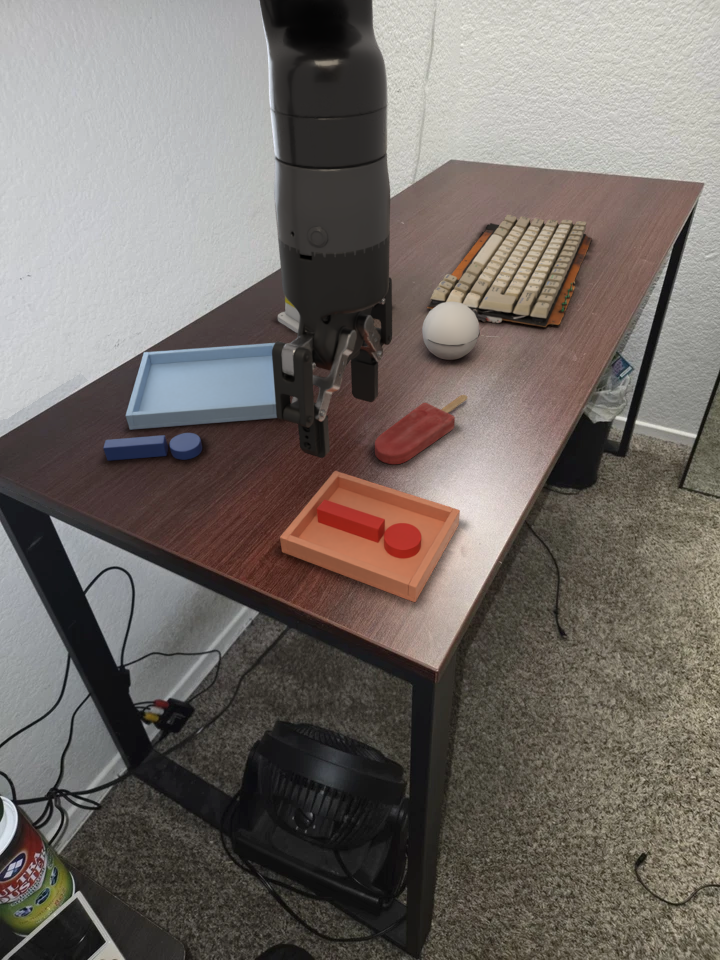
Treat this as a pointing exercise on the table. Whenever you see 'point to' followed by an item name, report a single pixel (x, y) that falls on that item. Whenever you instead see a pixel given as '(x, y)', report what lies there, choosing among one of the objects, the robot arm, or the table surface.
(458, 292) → the mechanical keyboard
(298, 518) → the clay tray
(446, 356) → the seamed sphere
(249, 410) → the blue tray
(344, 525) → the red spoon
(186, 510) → the table surface
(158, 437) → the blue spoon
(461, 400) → the popsicle
